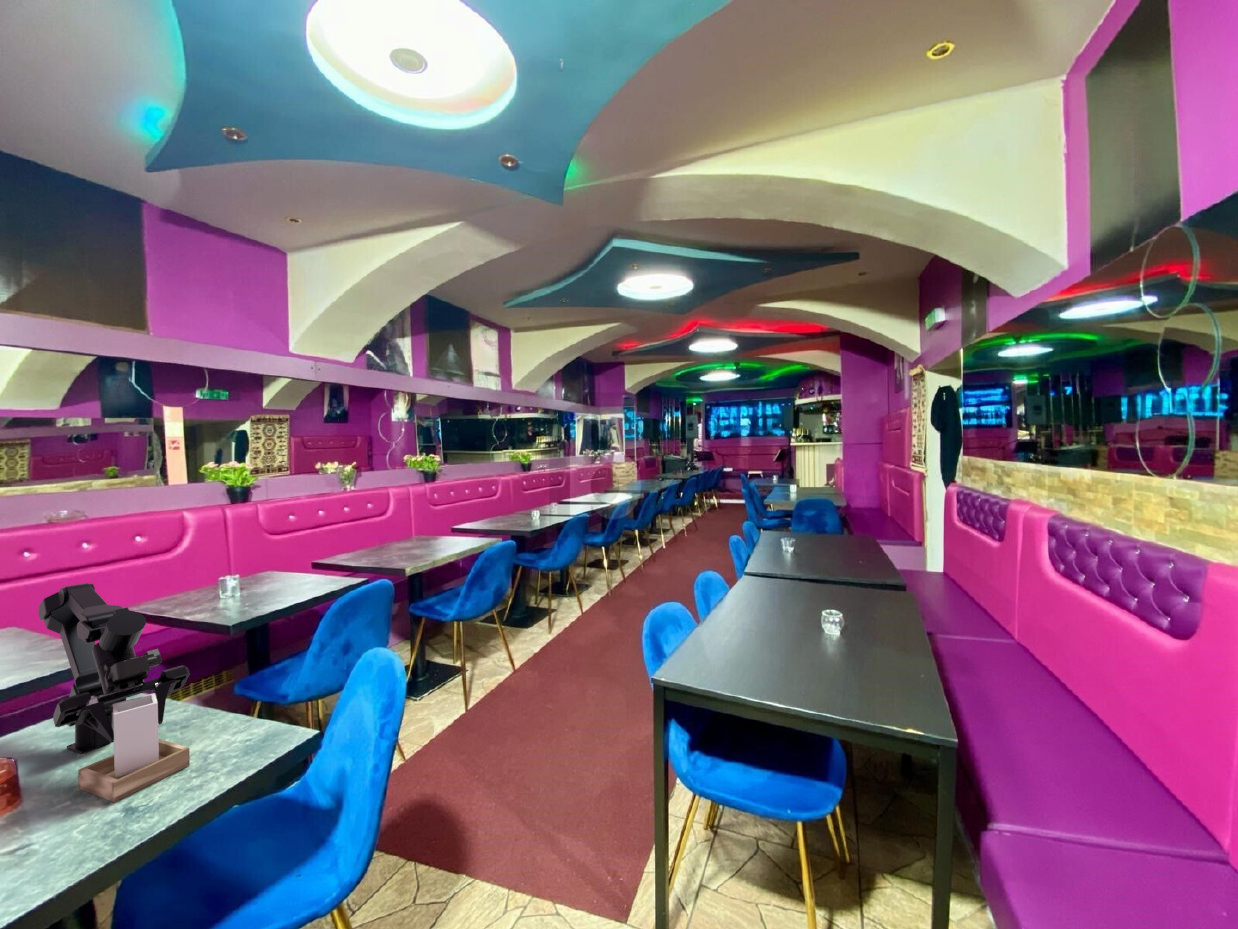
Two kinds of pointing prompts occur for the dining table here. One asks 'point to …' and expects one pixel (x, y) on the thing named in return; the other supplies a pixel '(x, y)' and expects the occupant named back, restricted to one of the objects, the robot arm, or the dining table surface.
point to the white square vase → (135, 734)
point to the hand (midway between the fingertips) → (137, 731)
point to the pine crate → (105, 784)
